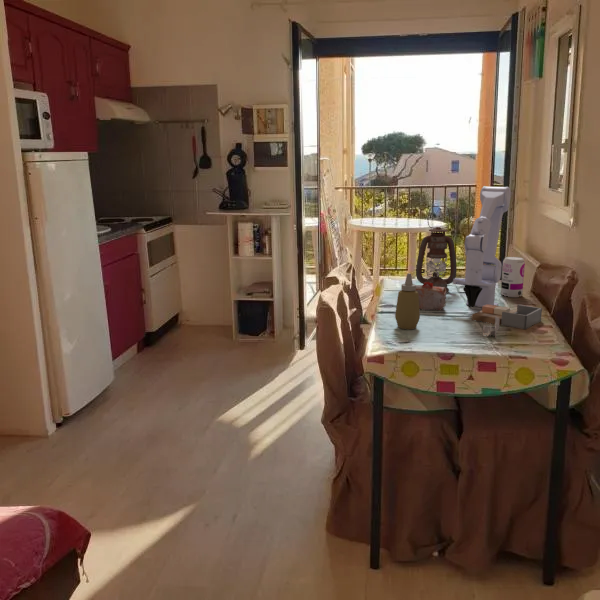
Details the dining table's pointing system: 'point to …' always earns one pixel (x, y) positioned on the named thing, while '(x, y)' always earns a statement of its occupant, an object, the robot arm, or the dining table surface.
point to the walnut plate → (488, 317)
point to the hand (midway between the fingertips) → (471, 306)
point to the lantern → (437, 257)
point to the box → (522, 317)
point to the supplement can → (512, 276)
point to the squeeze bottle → (407, 305)
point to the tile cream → (501, 310)
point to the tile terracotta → (488, 308)
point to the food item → (431, 296)
